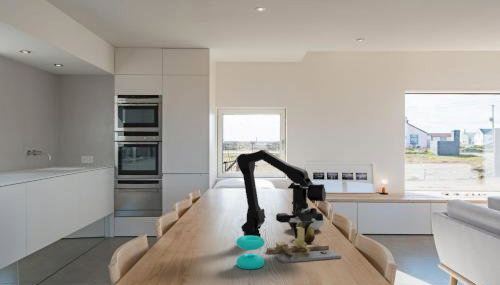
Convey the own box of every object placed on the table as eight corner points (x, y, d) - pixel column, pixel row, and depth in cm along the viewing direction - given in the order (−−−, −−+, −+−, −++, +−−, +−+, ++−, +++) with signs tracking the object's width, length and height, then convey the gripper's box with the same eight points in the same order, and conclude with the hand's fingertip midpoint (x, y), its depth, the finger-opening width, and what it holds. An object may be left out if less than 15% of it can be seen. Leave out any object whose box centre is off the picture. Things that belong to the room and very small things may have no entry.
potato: (295, 244, 165) (295, 225, 165) (296, 237, 178) (296, 220, 178) (315, 244, 164) (315, 226, 164) (314, 237, 177) (314, 220, 177)
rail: (275, 259, 143) (275, 250, 143) (266, 251, 154) (266, 243, 154) (338, 254, 149) (338, 246, 150) (324, 246, 161) (324, 239, 161)
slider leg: (304, 253, 146) (304, 233, 146) (292, 245, 157) (292, 226, 157) (313, 253, 147) (313, 232, 147) (301, 245, 158) (301, 226, 158)
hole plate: (282, 263, 139) (282, 260, 139) (275, 256, 146) (275, 253, 146) (341, 258, 145) (341, 255, 145) (331, 252, 153) (331, 249, 153)
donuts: (236, 241, 131) (236, 234, 141) (236, 270, 130) (236, 261, 140) (265, 241, 131) (263, 234, 141) (265, 270, 131) (263, 261, 141)
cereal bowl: (324, 234, 183) (324, 219, 183) (289, 233, 186) (289, 218, 186) (324, 227, 200) (324, 213, 200) (292, 225, 203) (292, 212, 203)
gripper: (284, 203, 145) (284, 244, 145) (329, 202, 150) (329, 241, 150) (275, 199, 156) (275, 237, 156) (317, 198, 161) (317, 235, 161)
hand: (299, 238), depth 156 cm, fingers closed on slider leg, 3 cm apart
